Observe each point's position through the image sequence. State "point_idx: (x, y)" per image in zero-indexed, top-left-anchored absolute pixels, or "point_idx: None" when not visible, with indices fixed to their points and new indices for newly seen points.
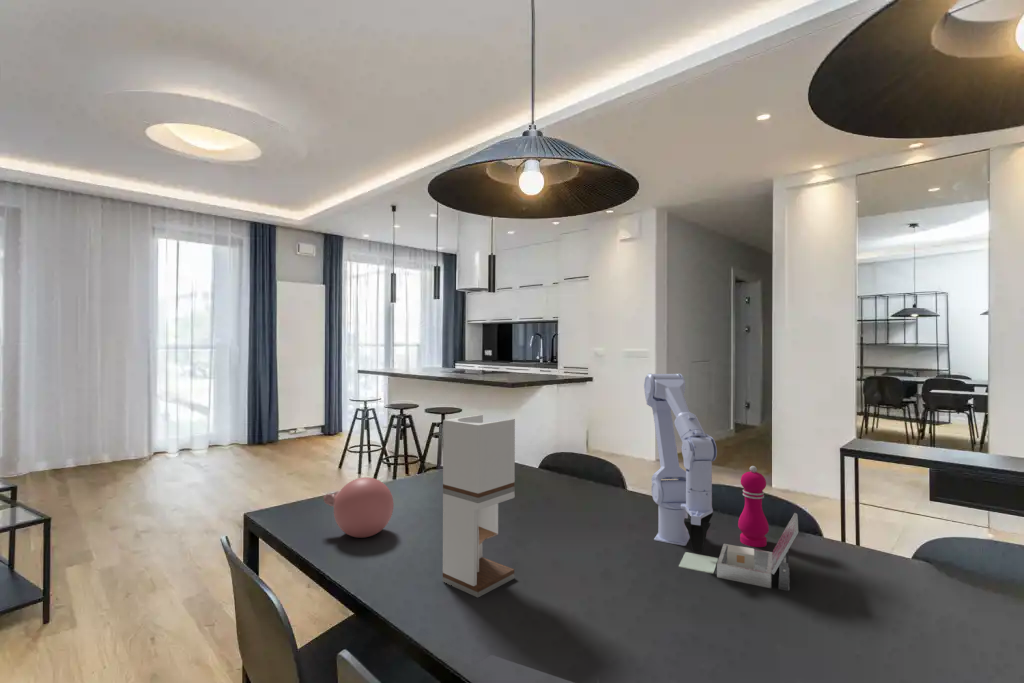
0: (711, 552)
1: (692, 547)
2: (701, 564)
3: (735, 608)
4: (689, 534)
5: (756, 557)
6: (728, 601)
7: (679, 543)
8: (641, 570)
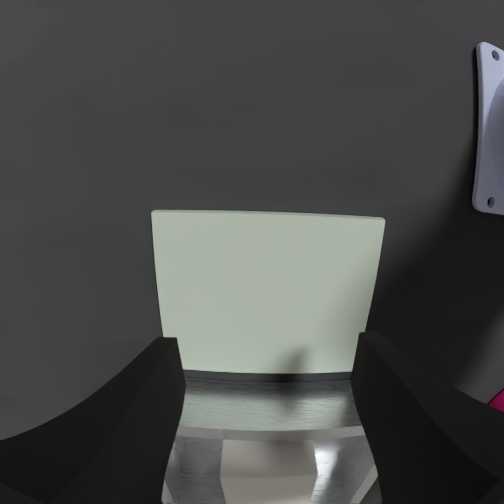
0: (430, 329)
1: (146, 349)
2: (237, 320)
3: (14, 392)
4: (73, 409)
5: (353, 470)
6: (28, 384)
7: (479, 177)
8: (44, 57)
